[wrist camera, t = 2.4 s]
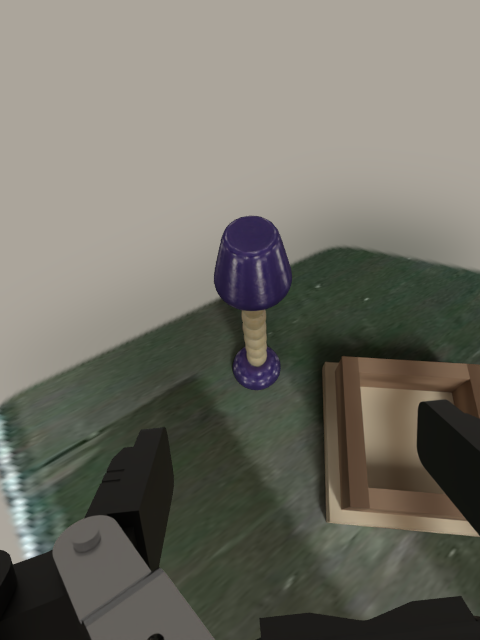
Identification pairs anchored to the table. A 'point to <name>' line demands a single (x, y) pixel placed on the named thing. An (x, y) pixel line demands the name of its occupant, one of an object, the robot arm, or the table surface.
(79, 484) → the table surface
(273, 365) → the toy lamp
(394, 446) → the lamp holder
